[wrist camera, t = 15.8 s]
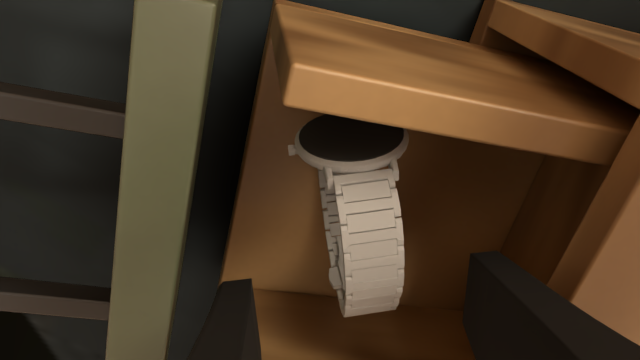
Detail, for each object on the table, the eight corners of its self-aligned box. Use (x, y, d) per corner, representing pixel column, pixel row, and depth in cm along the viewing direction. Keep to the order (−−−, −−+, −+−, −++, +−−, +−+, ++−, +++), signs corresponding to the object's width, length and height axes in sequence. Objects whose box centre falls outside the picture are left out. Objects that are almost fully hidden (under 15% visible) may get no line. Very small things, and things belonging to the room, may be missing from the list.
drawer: (-10, 273, 18) (-141, 468, 12) (-29, -107, 13) (-273, -107, 7) (464, 322, 21) (548, 487, 15) (595, 45, 16) (795, 132, 10)
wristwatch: (381, 86, 15) (438, 166, 11) (385, 232, 17) (432, 345, 13) (280, 98, 15) (295, 185, 10) (298, 244, 17) (316, 363, 13)
